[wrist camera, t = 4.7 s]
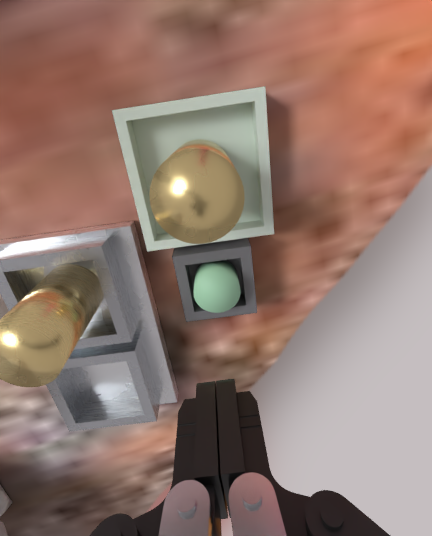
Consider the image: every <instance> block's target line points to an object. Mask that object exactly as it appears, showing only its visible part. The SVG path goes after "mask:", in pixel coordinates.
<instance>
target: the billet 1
mask: <svg viewBox="0 0 432 536" xmlns="http://www.w3.org/2000/svg"><path fill="white" fill-rule="evenodd" d="M103 297H104V293H103V291H102V288H101V285H100V282H99V279H98V277H97V276H96V275H95V274H94V273H93V272H92V271H90V270H89V269H87V268H85V267H82V266H79V265H75V264H65V265H61V266H58V267H56V268H54V269H53V270H52V271H51V272H50V273H49V274H48V275H47V276H46V277H44V278H43V279H42V280H41V281H40V282H39V283H38V284H37V285H36V286H35V287H34V288H33V289H32V290H31V291H30V292H29V293H28V294H27V295H26V296H25V297H24V298H22V299H21V300H20V301H19V302H18V303H17V304H16V305H15V306H14V307H13V308H12V309H11V310H10V311H9V312H8V313H7V314H6V315H5V316H4V317H3V318H1V319H0V379H1V380H3V381H5V382H8V383H10V384H13V385H17V386H22V387H39V386H43V385H46V384H48V383H50V382H52V381H53V380H55V379H56V378H57V376H58V375H59V374H60V372H61V370H62V369H63V367H64V365H65V363H66V362H67V360H68V358H69V357H70V355H71V353H72V352H73V350H74V348H75V346H76V345H77V343H78V341H79V340H80V338H81V336H82V335H83V333H84V331H85V330H86V328H87V326H88V324H89V323H90V321H91V319H92V318H93V316H94V314H95V313H96V311H97V309H98V308H99V306H100V304H101V302H102V300H103Z"/></svg>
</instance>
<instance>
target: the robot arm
mask: <svg viewBox="0 0 432 536" xmlns="http://www.w3.org/2000/svg"><path fill="white" fill-rule="evenodd" d="M177 425H178V427H177V438H176V447H175V459H174V471H173V481H172V486H171V489H170V491H169V493H168V495H167V496H166V498H165V499H164V501H163V502H162V503H161V504H160V505H158V506H157V507H156V508H154V509H153V510H151V511H149V512H147V513H145V514H143V515H141V516H139V517H137V518H135V519H132V518H131V517H130V516H128V515H126V514H115V515H112V516H110V517H108V518H106V519H105V520H104V521H102V522H101V523H100V524H99V525H98V526H97V528H96V529H95V530H94V531H93V532H92V534H91V535H90V536H221V519H226V518H228V512H227V506H228V511H229V516H230V518H231V522H232V528H233V536H390V535H389V534H387V533H386V532H385V531H384V530H383V529H382V528H380V527H379V526H378V525H377V524H376V523H374V522H373V521H372V520H371V519H370V518H369V517H367V516H366V515H365V514H364V513H363V512H361V511H360V510H359V509H358V508H357V507H355V506H354V505H353V504H352V503H350V502H349V501H348V500H347V499H346V498H345V497H343V496H342V495H340V494H338V493H336V492H333V491H328V490H323V491H319V492H316V493H315V494H313V495H312V496H311V497H308V496H304V495H300V494H296V493H292V492H290V491H288V490H285V489H284V488H282V487H281V486H280V485H279V484H278V483H277V482H276V481H275V479H274V478H273V476H272V474H271V471H270V468H269V463H268V457H267V452H266V447H265V442H264V437H263V431H262V426H261V421H260V415H259V410H258V405H257V401H256V400H255V398H254V397H253V395H252V394H251V393H250V391H247V392H239V393H236V387H235V380H234V379H228V380H220V381H216V383H215V381H213V382H205V383H198V384H197V386H196V398H193V399H185V400H184V402H183V404H182V406H181V408H180V410H179V412H178V424H177Z"/></svg>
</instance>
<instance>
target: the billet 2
mask: <svg viewBox="0 0 432 536" xmlns="http://www.w3.org/2000/svg"><path fill="white" fill-rule="evenodd" d="M149 198H150V206H151V209H152V212H153V215H154V217H155V219H156V220H157V222H158V224H159V225H160V226H161V227H162V228H163V229H164V230H165V231H166V232H167V233H168V234H169V235H171V236H172V237H174V238H176V239H178V240H180V241H183V242H186V243H192V244H205V243H210V242H213V241H216V240H218V239H220V238H222V237H223V236H225V235H226V234H227V233H229V232H230V231H231V230H232V229H233V228H234V226H235V225H236V224H237V222H238V220H239V219H240V217H241V214H242V211H243V207H244V200H245V196H244V187H243V184H242V180H241V178H240V176H239V174H238V172H237V170H236V169H235V167H234V165H233V164H232V162H231V160H230V158H229V157H228V155H227V153H226V152H225V151H224V150H223V149H222V148H221V147H220V146H219V145H217V144H216V143H214V142H212V141H209V140H204V139H196V140H191V141H188V142H186V143H184V144H183V145H181V146H180V147H179V148H178V149H177V150H176V151H175V152H174V153H172V154H171V155H170V156H169V157H168V158H167V159H166V160H165V161H164V162H163V163H162V164H161V165H160V166H159V168H158V169H157V171H156V172H155V174H154V176H153V179H152V181H151V185H150V193H149Z"/></svg>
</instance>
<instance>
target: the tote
mask: <svg viewBox="0 0 432 536" xmlns="http://www.w3.org/2000/svg"><path fill="white" fill-rule="evenodd" d="M112 113H113V117H114V121H115V125H116V129H117V133H118V137H119V141H120V145H121V149H122V153H123V157H124V161H125V165H126V169H127V173H128V177H129V181H130V185H131V189H132V193H133V197H134V201H135V205H136V209H137V213H138V217H139V221H140V225H141V229H142V233H143V236H144V240H145V244H146V248H147V252H148V251H155V250H162V249H170V248H177V247H184V246H191V245H198V244H192V243H186V242H183V241H180V240H178V239H176V238H174V237H172V236H171V235H169V234H168V233H167V232H166V231H165V230H164V229H163V228H162V227H161V226H160V225H159V224H158V222H157V220H156V219H155V217H154V215H153V212H152V209H151V206H150V198H149V193H150V185H151V181H152V179H153V176H154V174H155V172H156V171H157V169H158V168H159V166H160V165H161V164H162V163H163V162H164V161H165V160H166V159H167V158H168V157H169V156H170V155H171V154H172V153H174V152H175V151H176V150H177V149H178V148H179V147H180V146H181V145H183V144H184V143H186V142H188V141H191V140H196V139H204V140H209V141H212V142H214V143H216V144H217V145H219V146H220V147H221V148H222V149H223V150H224V151H225V152H226V153H227V155H228V157H229V158H230V160H231V162H232V164H233V165H234V167H235V169H236V170H237V172H238V174H239V176H240V178H241V180H242V184H243V187H244V196H245V200H244V207H243V211H242V214H241V217H240V219H239V220H238V222H237V224H236V225H235V226H234V228H233V229H232V230H231V231H230V232H229V233H227V234H226V235H225V236H223V237H222V238H220V239H218V240H216V241H213V242H220V241H227V240H235V239H242V238H249V237H256V236H263V235H271V234H274V221H273V205H272V188H271V172H270V156H269V139H268V123H267V107H266V90H265V86H264V87H258V88H252V89H245V90H239V91H232V92H226V93H219V94H213V95H207V96H200V97H194V98H187V99H181V100H175V101H168V102H162V103H155V104H149V105H143V106H136V107H130V108H123V109H117V110H112ZM213 242H210V243H213ZM205 244H206V243H205Z"/></svg>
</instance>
